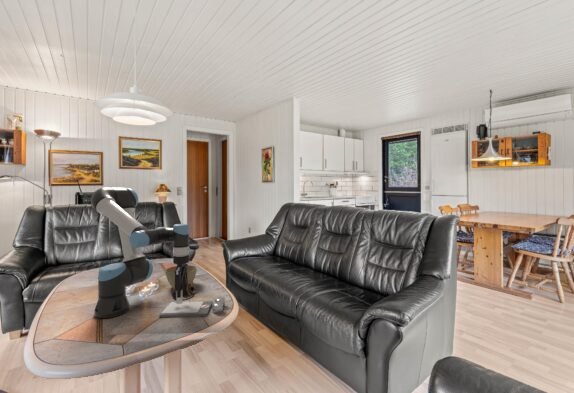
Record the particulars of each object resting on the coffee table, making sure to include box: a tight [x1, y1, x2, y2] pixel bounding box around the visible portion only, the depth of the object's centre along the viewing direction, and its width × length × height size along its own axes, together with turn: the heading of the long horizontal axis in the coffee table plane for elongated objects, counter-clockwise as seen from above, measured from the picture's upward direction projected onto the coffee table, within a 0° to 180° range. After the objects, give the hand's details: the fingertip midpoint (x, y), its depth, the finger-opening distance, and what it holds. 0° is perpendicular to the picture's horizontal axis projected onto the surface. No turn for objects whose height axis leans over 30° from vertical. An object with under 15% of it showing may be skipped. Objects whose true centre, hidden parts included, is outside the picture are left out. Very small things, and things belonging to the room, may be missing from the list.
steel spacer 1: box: [214, 296, 226, 308], centre depth 144 cm, size 5×5×4 cm
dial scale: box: [158, 300, 214, 318], centre depth 139 cm, size 22×15×2 cm
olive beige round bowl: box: [165, 264, 198, 290], centre depth 171 cm, size 18×18×12 cm
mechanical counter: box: [171, 280, 198, 302], centre depth 139 cm, size 7×13×10 cm, turn 93°
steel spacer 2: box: [212, 301, 224, 315], centre depth 137 cm, size 5×5×4 cm
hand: (181, 300), depth 139 cm, fingers closed on mechanical counter, 6 cm apart
